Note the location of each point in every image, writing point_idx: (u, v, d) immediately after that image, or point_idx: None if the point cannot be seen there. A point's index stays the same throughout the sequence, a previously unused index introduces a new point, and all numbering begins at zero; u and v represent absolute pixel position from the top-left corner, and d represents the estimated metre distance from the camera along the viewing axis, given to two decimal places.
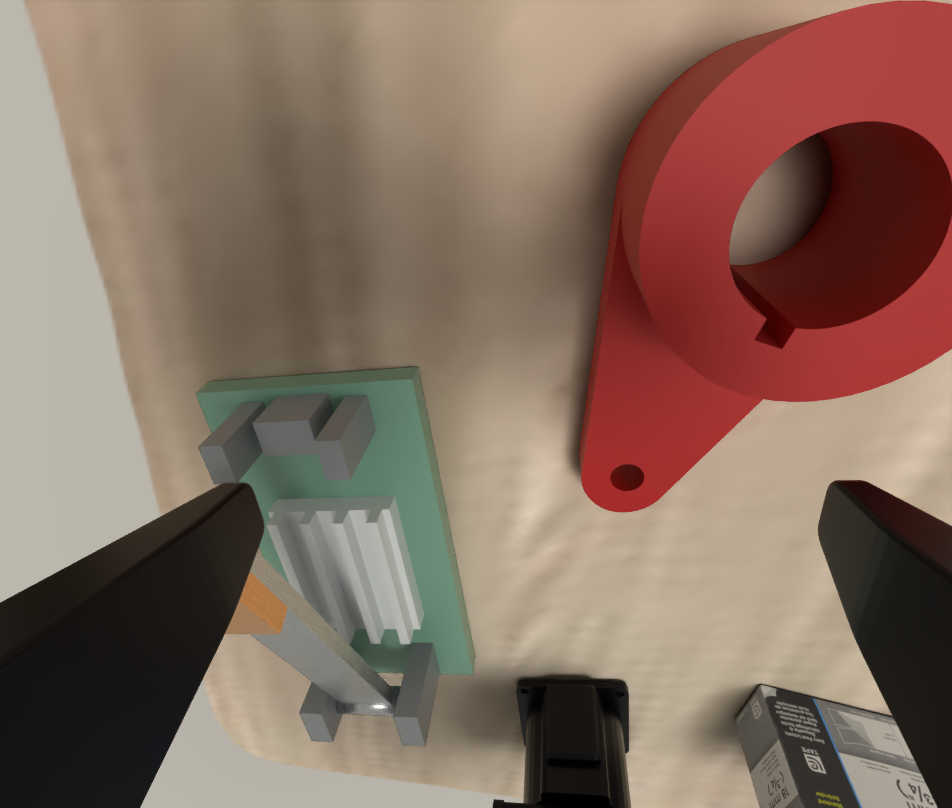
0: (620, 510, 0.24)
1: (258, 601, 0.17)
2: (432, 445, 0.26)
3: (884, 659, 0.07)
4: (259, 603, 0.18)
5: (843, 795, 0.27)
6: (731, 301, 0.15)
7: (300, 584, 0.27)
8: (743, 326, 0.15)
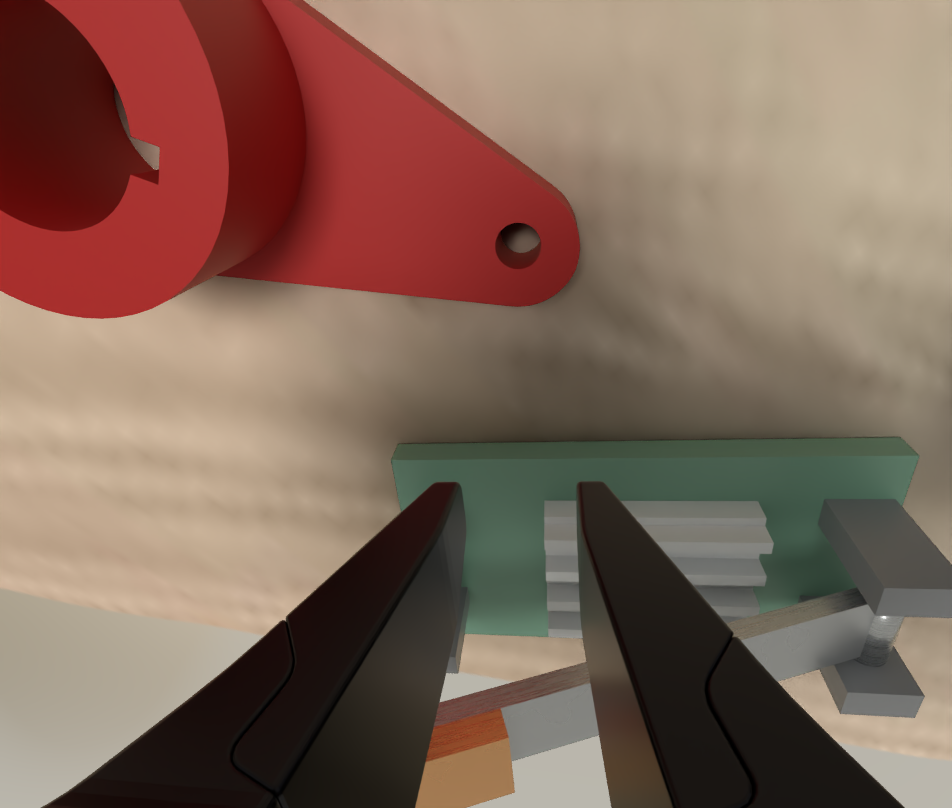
0: (579, 251, 0.17)
1: (442, 743, 0.16)
2: (491, 445, 0.22)
3: (588, 647, 0.07)
4: (444, 744, 0.16)
5: None
6: (123, 219, 0.13)
7: None
8: (146, 200, 0.13)
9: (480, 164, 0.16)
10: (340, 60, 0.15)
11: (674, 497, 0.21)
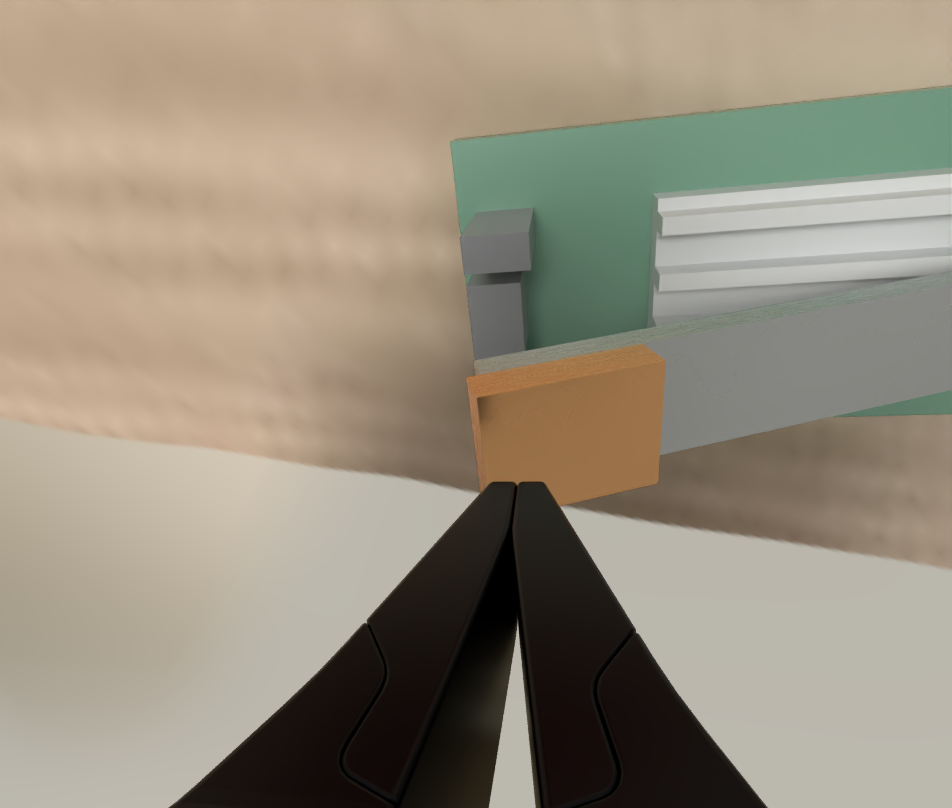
0: None
1: (563, 371, 0.10)
2: (581, 125, 0.17)
3: (520, 644, 0.07)
4: (568, 371, 0.10)
5: None
6: None
7: None
8: None
9: None
10: None
11: (833, 171, 0.16)
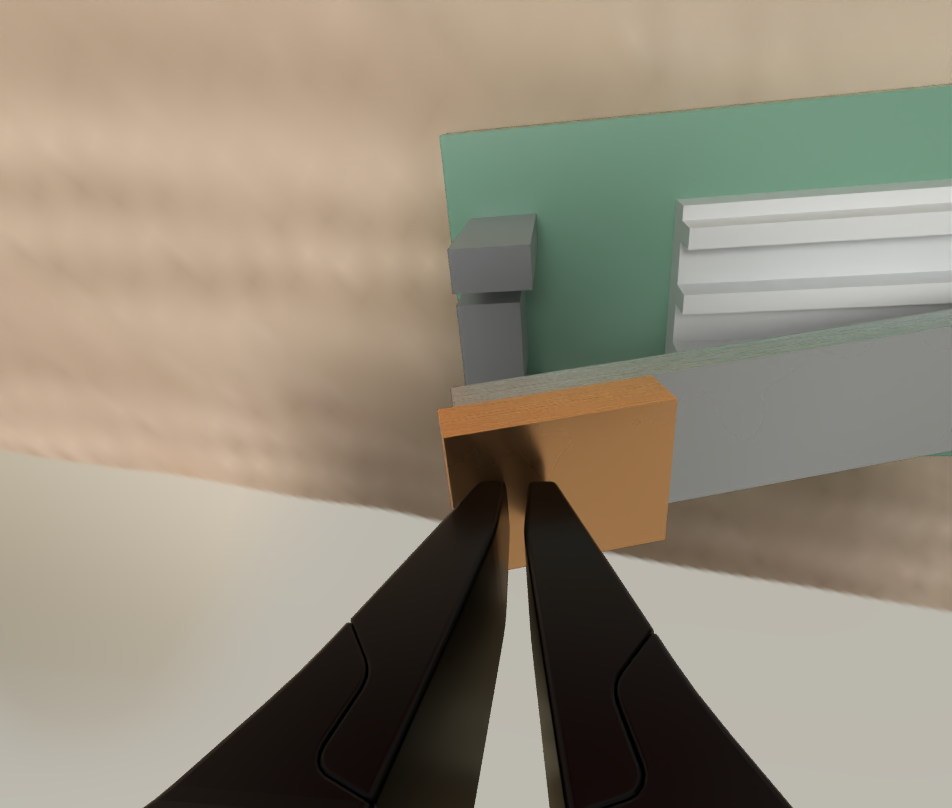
0: None
1: (552, 407, 0.09)
2: (592, 119, 0.15)
3: (533, 645, 0.07)
4: (557, 407, 0.09)
5: None
6: None
7: None
8: None
9: None
10: None
11: (890, 176, 0.13)
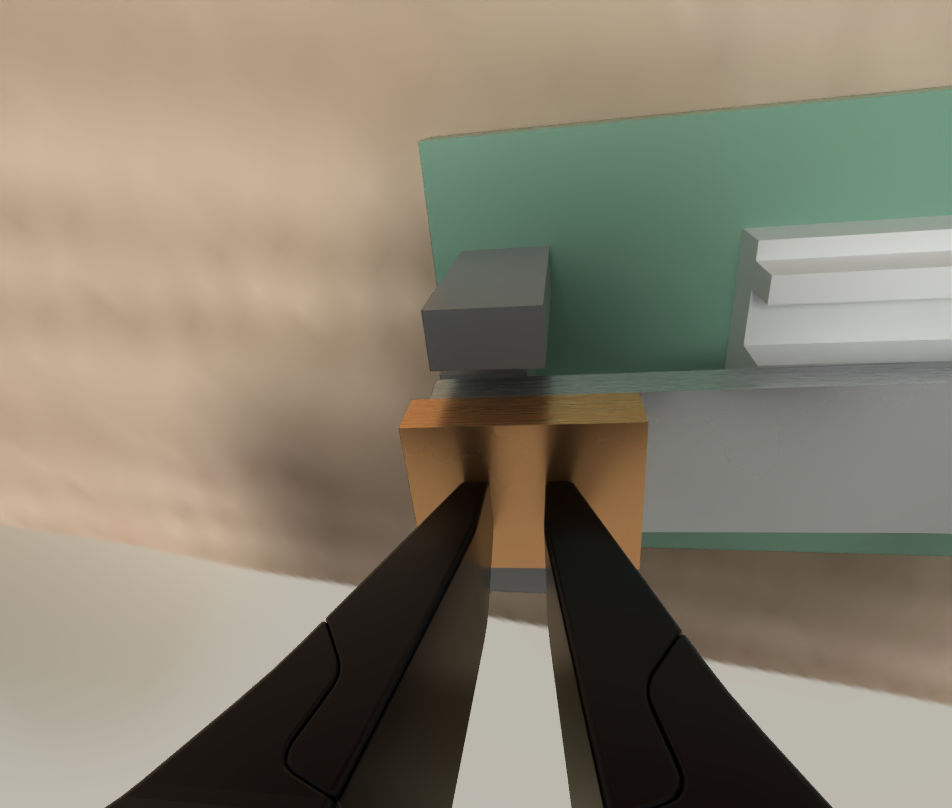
0: None
1: (517, 412, 0.08)
2: (628, 118, 0.11)
3: (552, 646, 0.07)
4: (521, 413, 0.08)
5: None
6: None
7: None
8: None
9: None
10: None
11: None
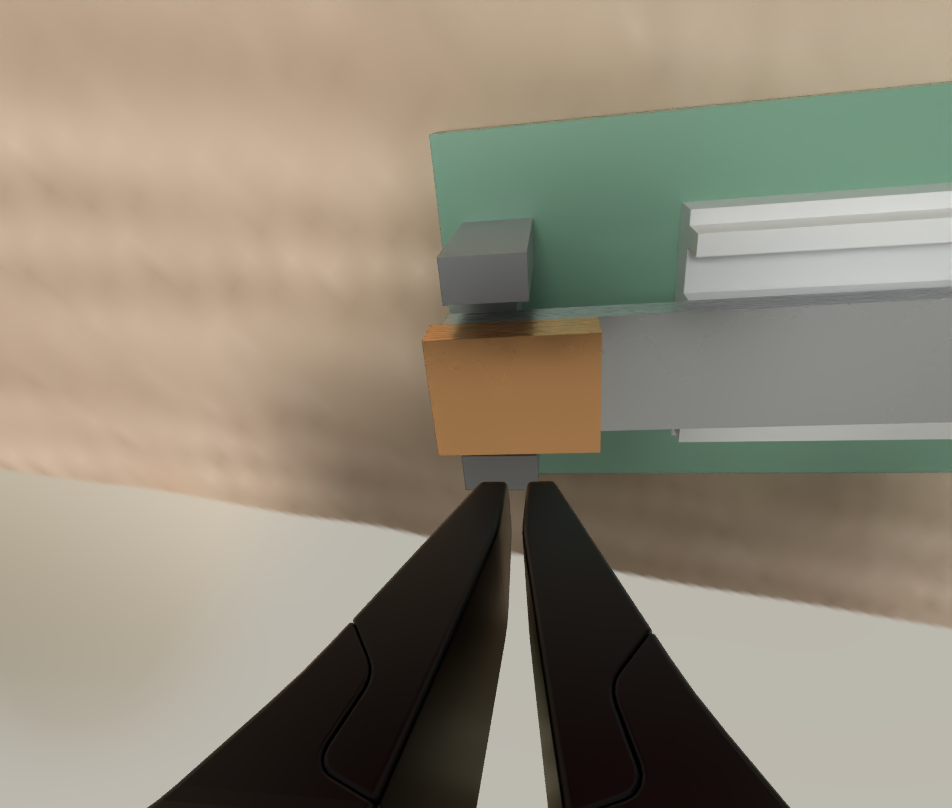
0: None
1: (508, 330, 0.11)
2: None
3: (532, 645, 0.07)
4: (511, 330, 0.11)
5: None
6: None
7: None
8: None
9: None
10: None
11: (911, 177, 0.13)
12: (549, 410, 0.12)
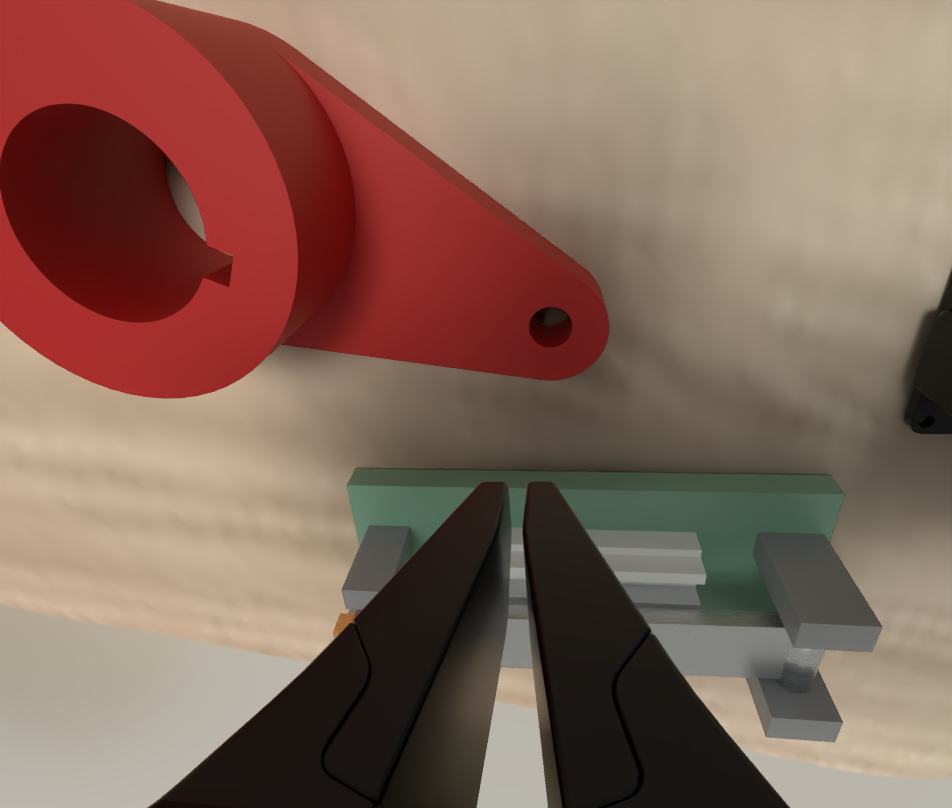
0: None
1: None
2: (444, 472, 0.23)
3: (531, 644, 0.07)
4: None
5: None
6: (193, 315, 0.14)
7: None
8: (216, 300, 0.14)
9: (519, 254, 0.17)
10: (392, 158, 0.16)
11: (617, 527, 0.22)
12: None
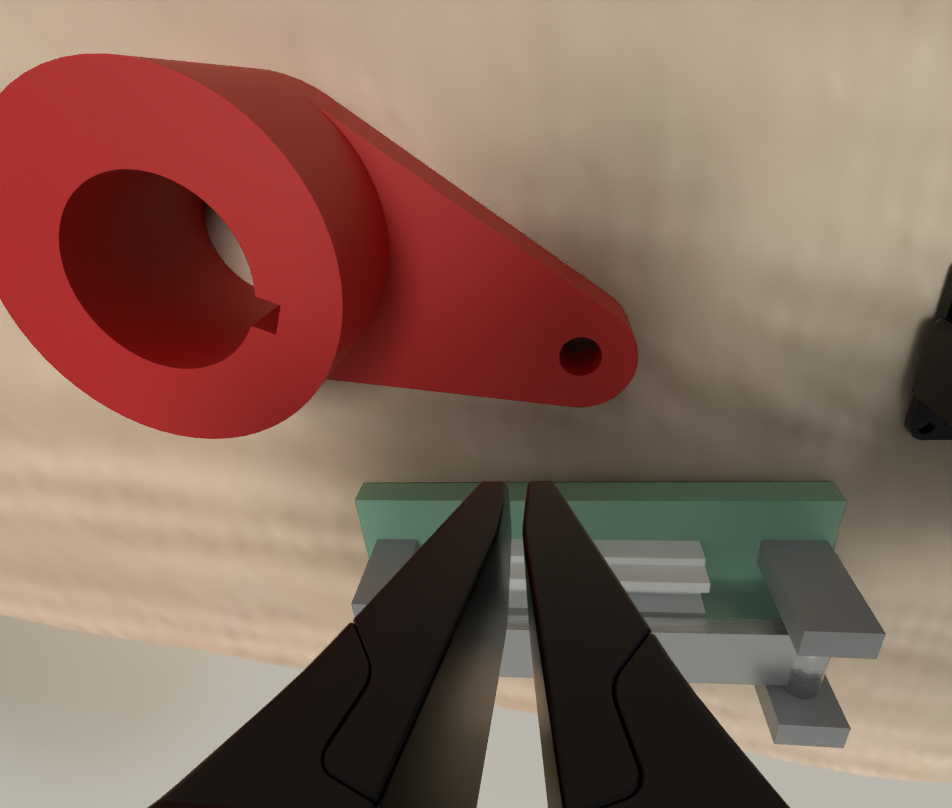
0: (637, 361, 0.18)
1: None
2: (450, 485, 0.24)
3: (531, 644, 0.07)
4: None
5: None
6: (241, 360, 0.15)
7: None
8: (264, 346, 0.14)
9: (549, 288, 0.17)
10: (425, 200, 0.16)
11: (621, 536, 0.23)
12: None
